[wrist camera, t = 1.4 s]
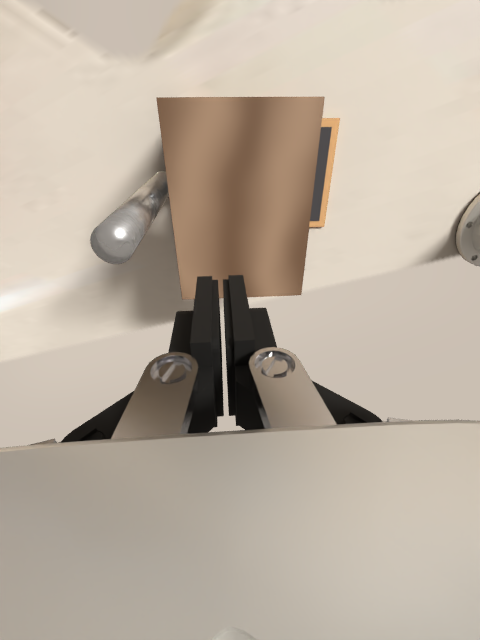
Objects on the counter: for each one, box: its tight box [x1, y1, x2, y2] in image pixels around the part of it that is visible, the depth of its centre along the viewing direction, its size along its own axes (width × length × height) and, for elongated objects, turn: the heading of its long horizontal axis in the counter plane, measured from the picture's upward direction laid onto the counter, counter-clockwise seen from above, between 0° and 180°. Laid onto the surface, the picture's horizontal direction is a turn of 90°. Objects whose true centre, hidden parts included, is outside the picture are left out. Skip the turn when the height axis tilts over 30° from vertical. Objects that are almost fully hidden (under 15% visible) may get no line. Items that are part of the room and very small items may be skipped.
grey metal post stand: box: [90, 171, 169, 264], centre depth 27 cm, size 14×10×21 cm
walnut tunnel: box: [157, 97, 324, 299], centre depth 30 cm, size 11×14×16 cm
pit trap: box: [309, 118, 340, 227], centre depth 37 cm, size 6×12×1 cm, turn 0°
